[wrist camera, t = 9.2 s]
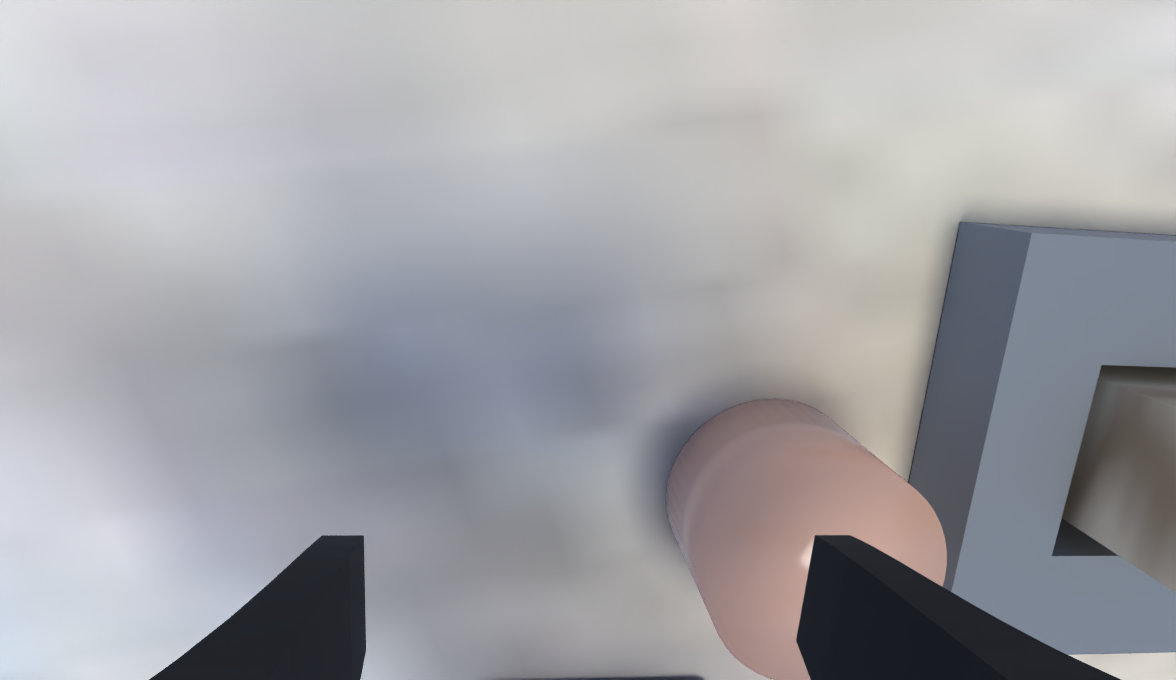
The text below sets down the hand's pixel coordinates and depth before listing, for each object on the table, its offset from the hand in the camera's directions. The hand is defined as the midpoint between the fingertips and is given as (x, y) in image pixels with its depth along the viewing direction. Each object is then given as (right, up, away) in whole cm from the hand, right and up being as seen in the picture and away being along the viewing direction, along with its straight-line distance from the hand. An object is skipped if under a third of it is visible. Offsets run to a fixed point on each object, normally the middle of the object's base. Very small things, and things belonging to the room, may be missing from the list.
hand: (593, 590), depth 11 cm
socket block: (+17, +1, +13) cm, 21 cm away
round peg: (+6, -1, +12) cm, 13 cm away
